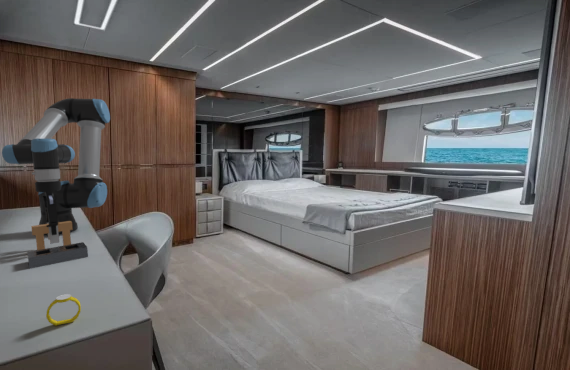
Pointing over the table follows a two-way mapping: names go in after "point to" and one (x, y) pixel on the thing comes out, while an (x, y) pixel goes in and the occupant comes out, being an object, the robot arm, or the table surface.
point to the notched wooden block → (43, 229)
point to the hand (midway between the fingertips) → (53, 240)
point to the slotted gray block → (57, 254)
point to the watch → (59, 300)
